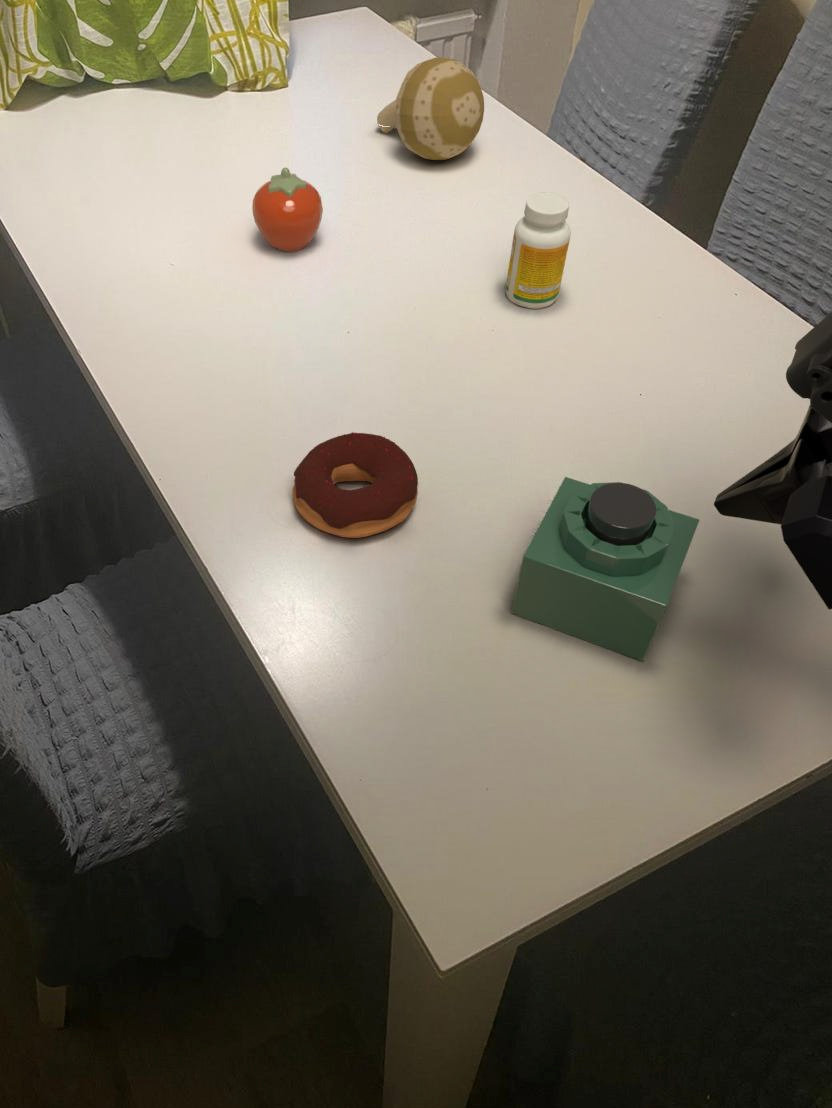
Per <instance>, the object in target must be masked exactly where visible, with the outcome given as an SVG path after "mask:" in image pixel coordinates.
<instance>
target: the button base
mask: <svg viewBox="0 0 832 1108" xmlns="http://www.w3.org/2000/svg"><path fill="white" fill-rule="evenodd" d="M609 483H623V482H621V481H613V482H593V483H587V482H584V481H580V480H577V479H574V478H571V477H568V476H565V477H564V479H563V480H562V482H561V483H560V485H559V487H558V489H557V491H556V493H555V495H554V497H553V499H552V501H551V502H550V505H549V507H548V509H547V511H546V512H545V514H544V516H543V518H542V519H541V522H540V524H539V525H538V527H537V529H536V531H535V533H534V534H533V537H532V539H531V541H530V543H528V546H527V548H526V550H525V551H524V554H523V556H522V561H521V565H520V570H519V575H518V580H517V584H516V589H515V593H514V599H513V603H512V607H511V611H510V612H511V614H513V615H515V616H518V617H521V618H524V619H527V620H529V621H531V622H535V623H538V624H540V625H543V626H545V627H549V628H551V629H553V630H556V631H559V632H562V633H565V634H567V635H570V636H573V637H575V638H578V639H581V640H584V641H587V642H589V643H592V644H594V645H596V646H600V647H603V648H606V649H608V650H611V651H613V652H616V653H619V654H622V655H623V656H624V655H625V656H627V657H631V658H633V659H635V660H637V661H641V662H644V661H645V659H646V657H647V654H648V652H649V649H650V647H651V646H652V645H651V644H652V643H653V640H654V637H655V635H656V633H657V631H658V628H659V626H660V623H661V621H662V619H663V616H664V614H665V612H666V609H667V607H668V604H669V602H670V599H671V596H672V594H673V591H674V589H675V586H676V583H677V581H678V578H679V576H680V572H681V571H682V567H683V565H684V561H686V560H685V559H686V557H687V554H688V551H689V549H690V547H691V544H692V541H693V538H694V535H695V533H696V530H697V529H698V525H699V523H700V519H699V518H697V517H694V516H693V517H692V516H690V515H686V514H683V513H680V512H677V511H674V510H671V509H669V508H668V505H666V504H664V502H663V501H661V500H660V499H659V498H657V497H656V496H655V495H654V494H652V493H651V492H650V491H648V490H647V489H643V488H641V489H642V490H644V491H645V492H647V493H648V494H649V495H650V496H651V497H652V498H653V500H654V502H655V504H656V515H655V518H654V521H653V524H652V526H651V529H650V532H649V534H648V536H647V537H646V538H645V539H644V540H643V541H642V542H640V543H638V544H635V545H624V546H617V545H614V544H611V543H608V542H605V541H602V540H599V539H598V538H597V537H595V536H594V535H593V534H592V533H591V532H590V531H589V530H588V528H587V526H586V522H585V517H586V513H587V509H588V505H589V502H590V498H591V495H592V494H593V492H594V491H595V490H596V489H597V488H599V487H601V486H603V485H605V484H609Z"/></svg>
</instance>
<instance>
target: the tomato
mask: <svg viewBox="0 0 832 1108" xmlns="http://www.w3.org/2000/svg"><path fill="white" fill-rule="evenodd" d="M251 206H252V208H251V209H252V216H253V220H254V223H255V225H256V229H258V232H259V234H261V236H262V238H263V239H264V240H265V241H266V243H267V244H269V245H270V246H271V247H273V248H274V249H276V250H279V251H281V252H286V253H295V252H299V251H301V250H303V249H304V248H306V247H307V245H309V244H310V243H311V241H312V240H313V238H314V237H315V236H316V234H317V232H318V230H319V228H320V225H321V223H322V218H323V213H324V212H323V211H324V208H323V202H322V196H321V195H320V192H319V191H318V190H317V189H316V188H315V186H313V185H312V184H311V183H309V182H308V181H306V180H303V179H302V178H300V177H299V176H298V175H297V174H296V173H292V172H291V171H290V169H289V168H288V167H283V168H282V169H281V171H280V174H275V175H271V177H270V180H269V181H267V182H265V183H263V184H262V185H261V186H260V187H259V188H258V189H257V191H256V192H255V194H254V196H253V199H252V205H251Z"/></svg>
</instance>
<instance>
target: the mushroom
mask: <svg viewBox="0 0 832 1108" xmlns="http://www.w3.org/2000/svg"><path fill="white" fill-rule="evenodd" d="M481 86H482V85H481V84H480V81H479V80H478V78H477V77H476V75H475V73H474V72H473V71H472V70H471V69H470V68H469V67H467V65H466V64H465V65H464V63H462V62H461V61H459V60H457V59H453V58H449V57H441V56H440V57H438V56H437V57H433V58H430V59H427V60H424V61H421V62H419V63H417V64H416V65H415V66H413V67H412V68H411V69H409V70H408V71H407V73H406V75H405V76H404V78H403V81H402V82H401V85H400V87H399V89H398V92H397V95H396V98H395V99H394V100H393V101H391V102H390V103H388V104H387V105H385V106H384V107H383V108H382V109H381V110H380V111H379V112H378V114H377V116H376V123H377V126H378V128H379V129H380V130H381V132H383V133H390V132H391V131H393V129H395V128H396V130H397V132H398V135H399V138H400V140H401V141H402V143H403V144H404V146H405V147H406V149H408V150H409V151H411V152H412V153H414V154H416V155H417V156H419V157H421V158H423V159H425V160H431V161H432V160H433V161H444V160H445V161H446V160H449V159H451V158H453V157H455V156H458V155H460V154H462V153H463V152H464V151H465V150H466V149H467V148H469V146H471V144H472V143H473V142H474V140H475V139H476V137H477V135H478V134H479V132H480V130H481V127H482V124H483V120H484V113H485V98H484V94H483V89H482V87H481ZM378 124H380V125H383V126H390V127H382V126H379V125H378ZM394 126H395V127H394ZM425 157H426V158H425Z"/></svg>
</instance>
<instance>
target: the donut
mask: <svg viewBox="0 0 832 1108" xmlns="http://www.w3.org/2000/svg"><path fill="white" fill-rule="evenodd" d="M293 476H294V481H293V487H292V500H293V502H294V506H295V509H296V510H297V512H298V513H299V514H300V515H301V517H303V519H304V520H305V521H306V522H308V523H309V524H310V525H312V527H314V528H316V529H318V530H320V531H323V532H325V533H328V534H331V535H334V536H337V537H341V538H350V539H358V538H365V537H369V536H374V535H376V534H379V533H382V532H385V531H388V530H389V529H391V528H393V527H395V526H397V525H399V524H401V523H402V522H404V520H406V519H407V517H408V516H409V515H410V514H411V512H412V510H413V508H414V506H416V505H415V504H416V502H417V498H418V485H419V481H418V480H419V477H418V473H417V470H416V467H415V464H414V463H413V461H412V459H411V458H410V456H409V454H408V453H407V452H406V451H404V450H403V448H401V446H399V445H398V444H397V443H395V441H393V440H390V439H389V438H387V437H385V436H382V435H379V434H378V435H377V434H373V433H364V432H356V431H355V432H353V431H352V432H350V433H345V434H344V433H343V434H341V435H338V436H335V437H332V438H329V439H327V440H324V441H323V442H320V443H319V444H317V445H316V446H314V447H313V448H312V449H311V450H309V452H308V453H307V454H306V455H305V456H304V457H303V459H302V460H301V462H299V464H298V465H297V467H296V468H295V469H294V472H293ZM357 481H358V482H360V481H362V482H369V483H371V484H368V485H366V486H362V487H359V488H356V489H345V488H340V487H338V486H337V485H335V484H337V483H342V482H357Z"/></svg>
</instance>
